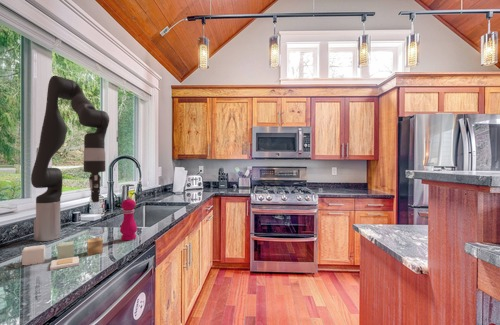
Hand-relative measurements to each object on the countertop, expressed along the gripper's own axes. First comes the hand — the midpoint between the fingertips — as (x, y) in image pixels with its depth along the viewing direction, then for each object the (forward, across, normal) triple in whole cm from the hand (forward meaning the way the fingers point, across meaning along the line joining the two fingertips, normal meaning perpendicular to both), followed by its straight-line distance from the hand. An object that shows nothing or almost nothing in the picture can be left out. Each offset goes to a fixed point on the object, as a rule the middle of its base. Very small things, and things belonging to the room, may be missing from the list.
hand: (95, 200), depth 108 cm
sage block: (+20, 0, +10) cm, 22 cm away
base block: (+20, 0, +19) cm, 28 cm away
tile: (+20, -9, +10) cm, 24 cm away
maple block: (+20, 0, 0) cm, 20 cm away
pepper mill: (+20, +13, -14) cm, 28 cm away
